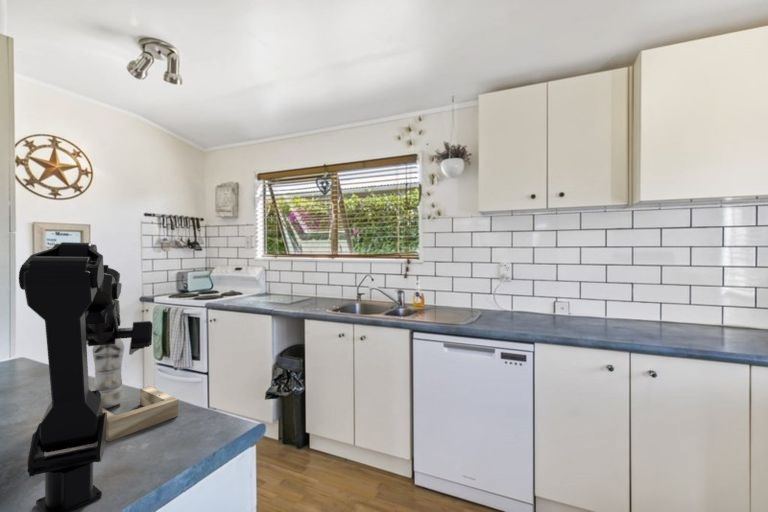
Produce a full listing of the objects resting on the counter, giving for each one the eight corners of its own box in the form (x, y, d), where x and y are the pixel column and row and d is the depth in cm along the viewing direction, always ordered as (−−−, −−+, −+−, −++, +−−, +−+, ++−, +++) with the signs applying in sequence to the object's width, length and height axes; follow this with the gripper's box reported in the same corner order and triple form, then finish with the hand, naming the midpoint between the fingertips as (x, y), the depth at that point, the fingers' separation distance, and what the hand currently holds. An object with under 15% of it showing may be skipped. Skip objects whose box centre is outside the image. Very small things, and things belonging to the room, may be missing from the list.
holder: (178, 415, 86) (178, 399, 86) (109, 441, 74) (109, 422, 74) (148, 401, 94) (148, 386, 93) (81, 422, 82) (81, 405, 82)
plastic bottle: (127, 399, 95) (128, 323, 94) (119, 410, 88) (120, 328, 88) (97, 402, 92) (98, 324, 92) (86, 413, 86) (87, 330, 86)
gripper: (152, 288, 89) (154, 324, 98) (51, 291, 79) (64, 330, 89) (150, 327, 82) (152, 361, 92) (39, 335, 73) (55, 372, 82)
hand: (107, 355), depth 89 cm, fingers open, 9 cm apart
